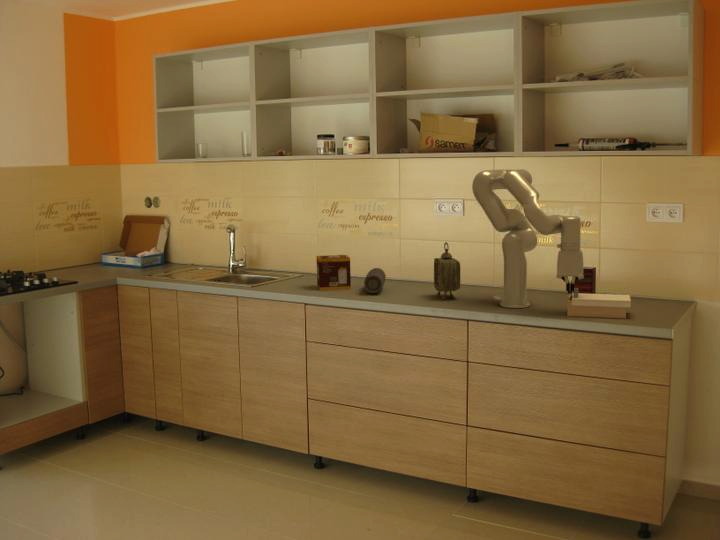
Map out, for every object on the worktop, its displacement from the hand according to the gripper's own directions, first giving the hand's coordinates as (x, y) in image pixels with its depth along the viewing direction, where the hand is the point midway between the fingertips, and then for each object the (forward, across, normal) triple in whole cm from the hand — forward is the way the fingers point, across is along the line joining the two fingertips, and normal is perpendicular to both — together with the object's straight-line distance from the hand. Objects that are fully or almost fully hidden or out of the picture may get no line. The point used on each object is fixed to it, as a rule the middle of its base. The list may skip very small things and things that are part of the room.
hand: (569, 292), depth 318 cm
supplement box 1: (+7, -112, +36) cm, 118 cm away
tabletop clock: (+8, -54, +23) cm, 59 cm away
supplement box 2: (+8, +5, +20) cm, 23 cm away
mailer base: (+8, +10, 0) cm, 13 cm away
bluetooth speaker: (+7, -90, +33) cm, 96 cm away
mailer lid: (+4, +12, 0) cm, 13 cm away
